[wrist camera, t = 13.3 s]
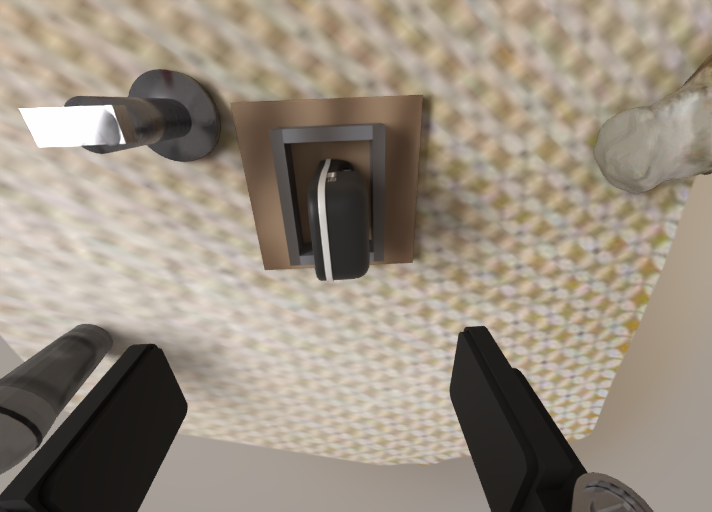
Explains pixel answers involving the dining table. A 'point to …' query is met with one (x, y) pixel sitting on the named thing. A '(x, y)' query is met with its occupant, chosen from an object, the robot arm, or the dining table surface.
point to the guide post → (135, 119)
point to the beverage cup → (45, 389)
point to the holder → (331, 141)
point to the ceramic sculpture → (660, 138)
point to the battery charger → (339, 221)
